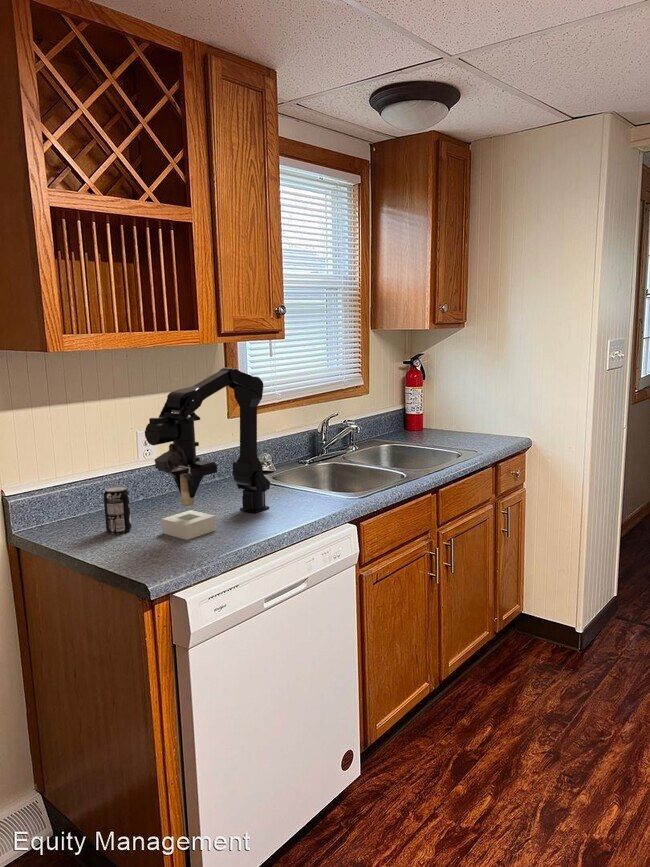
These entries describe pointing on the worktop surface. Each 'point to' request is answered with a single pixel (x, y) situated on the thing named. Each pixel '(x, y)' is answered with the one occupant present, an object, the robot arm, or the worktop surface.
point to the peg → (185, 492)
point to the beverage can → (117, 509)
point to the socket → (188, 524)
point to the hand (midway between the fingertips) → (187, 496)
